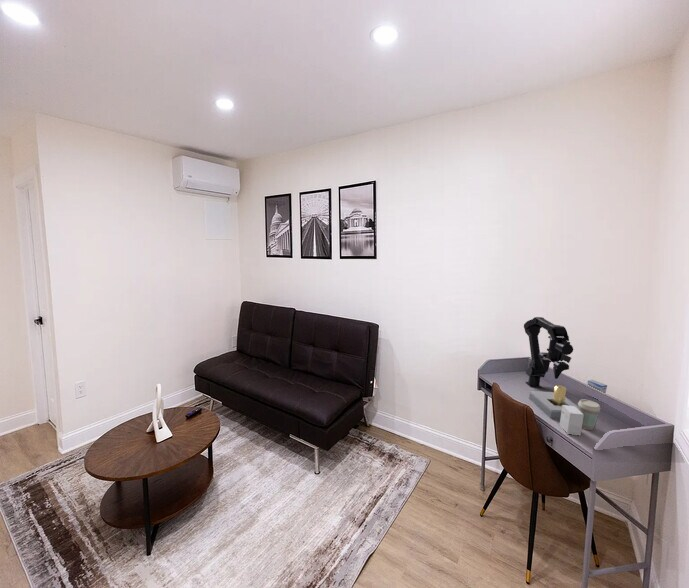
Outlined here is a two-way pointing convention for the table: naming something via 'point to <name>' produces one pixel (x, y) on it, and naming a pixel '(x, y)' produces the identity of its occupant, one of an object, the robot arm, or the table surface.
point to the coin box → (548, 403)
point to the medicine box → (597, 385)
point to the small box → (571, 420)
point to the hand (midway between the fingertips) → (551, 375)
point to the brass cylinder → (559, 395)
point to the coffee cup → (589, 413)
